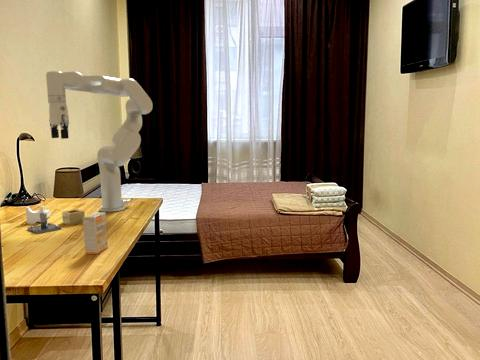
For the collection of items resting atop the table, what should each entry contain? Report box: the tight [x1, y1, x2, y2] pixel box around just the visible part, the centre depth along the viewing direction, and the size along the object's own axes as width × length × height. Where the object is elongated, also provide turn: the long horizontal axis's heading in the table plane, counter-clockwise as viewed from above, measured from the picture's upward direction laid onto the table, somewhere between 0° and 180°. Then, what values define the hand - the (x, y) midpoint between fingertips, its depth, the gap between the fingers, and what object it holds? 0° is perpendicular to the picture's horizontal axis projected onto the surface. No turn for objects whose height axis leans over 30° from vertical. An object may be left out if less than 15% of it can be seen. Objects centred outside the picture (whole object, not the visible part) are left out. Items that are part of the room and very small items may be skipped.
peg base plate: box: [27, 212, 62, 235], centre depth 202 cm, size 10×10×7 cm
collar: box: [61, 209, 86, 226], centre depth 213 cm, size 7×7×5 cm
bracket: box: [25, 205, 51, 225], centre depth 220 cm, size 13×7×8 cm, turn 10°
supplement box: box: [82, 211, 109, 255], centre depth 168 cm, size 8×5×13 cm, turn 170°
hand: (60, 138), depth 218 cm, fingers open, 9 cm apart
